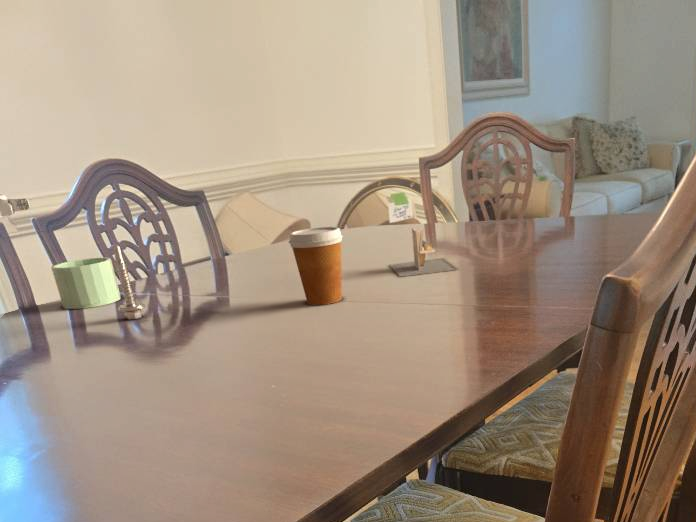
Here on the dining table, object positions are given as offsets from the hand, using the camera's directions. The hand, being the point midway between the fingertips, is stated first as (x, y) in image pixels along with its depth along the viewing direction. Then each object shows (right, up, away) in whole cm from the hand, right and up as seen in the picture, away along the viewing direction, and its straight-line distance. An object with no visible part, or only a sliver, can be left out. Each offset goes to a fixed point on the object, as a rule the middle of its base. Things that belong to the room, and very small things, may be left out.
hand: (20, 206), depth 131 cm
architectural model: (+69, 0, +30) cm, 75 cm away
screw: (+16, -16, +11) cm, 25 cm away
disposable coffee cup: (+51, -14, +8) cm, 54 cm away
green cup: (0, -7, +30) cm, 31 cm away
